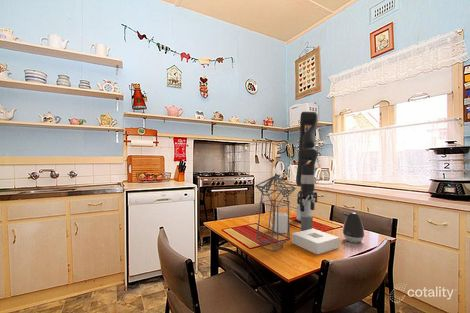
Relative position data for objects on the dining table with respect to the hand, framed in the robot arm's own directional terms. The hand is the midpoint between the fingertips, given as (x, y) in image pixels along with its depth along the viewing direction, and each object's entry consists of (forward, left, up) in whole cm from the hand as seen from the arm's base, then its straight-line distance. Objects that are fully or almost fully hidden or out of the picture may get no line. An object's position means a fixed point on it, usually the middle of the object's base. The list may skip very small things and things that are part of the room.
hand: (307, 210), depth 133 cm
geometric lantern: (+6, -30, -14) cm, 33 cm away
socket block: (+14, -10, -13) cm, 22 cm away
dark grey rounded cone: (+20, +13, -14) cm, 27 cm away
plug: (0, 0, -13) cm, 13 cm away
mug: (-12, -11, -14) cm, 21 cm away
